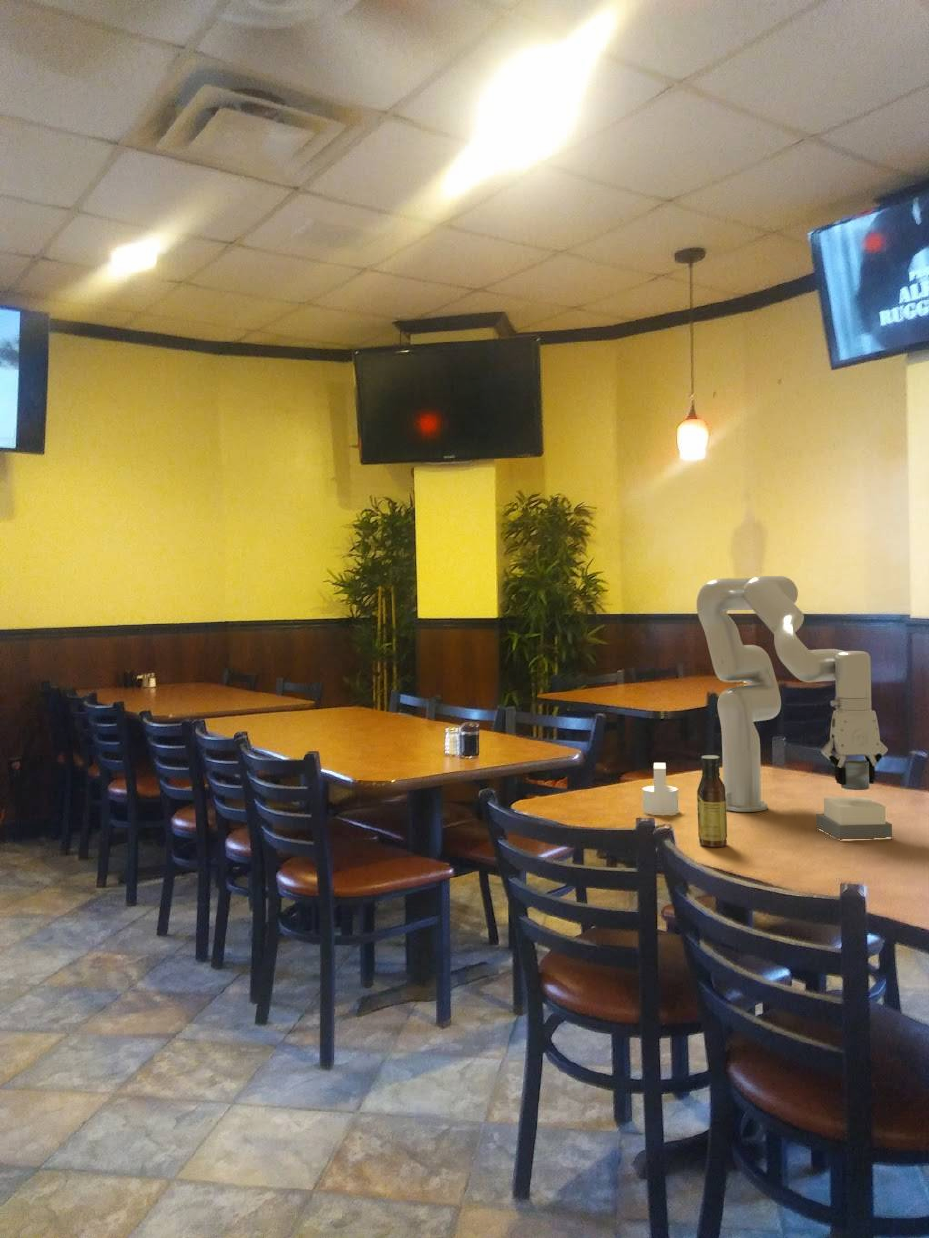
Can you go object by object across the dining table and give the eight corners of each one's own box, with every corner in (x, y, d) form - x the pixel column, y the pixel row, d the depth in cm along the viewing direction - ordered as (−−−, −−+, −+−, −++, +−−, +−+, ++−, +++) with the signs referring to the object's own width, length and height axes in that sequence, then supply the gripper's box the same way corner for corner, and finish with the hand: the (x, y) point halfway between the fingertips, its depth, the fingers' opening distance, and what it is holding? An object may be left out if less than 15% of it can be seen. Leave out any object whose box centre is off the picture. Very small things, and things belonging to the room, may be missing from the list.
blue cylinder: (848, 790, 217) (848, 764, 217) (836, 785, 223) (835, 759, 223) (874, 789, 217) (873, 763, 217) (861, 784, 223) (860, 758, 223)
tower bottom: (839, 843, 214) (839, 825, 214) (816, 830, 226) (816, 813, 226) (892, 841, 215) (891, 824, 215) (866, 829, 227) (866, 812, 227)
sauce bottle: (706, 839, 218) (704, 752, 218) (732, 843, 214) (730, 755, 214) (693, 846, 213) (691, 756, 213) (719, 850, 209) (717, 759, 209)
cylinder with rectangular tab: (678, 816, 242) (677, 768, 242) (642, 815, 244) (641, 768, 244) (678, 808, 251) (677, 762, 251) (643, 807, 253) (642, 762, 252)
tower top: (840, 825, 215) (840, 807, 215) (824, 815, 225) (823, 798, 225) (885, 824, 215) (885, 806, 215) (866, 814, 225) (866, 797, 225)
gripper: (824, 708, 215) (826, 788, 216) (898, 705, 217) (899, 784, 217) (809, 704, 223) (811, 781, 223) (881, 702, 224) (882, 778, 224)
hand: (855, 782), depth 220 cm, fingers closed on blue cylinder, 6 cm apart
